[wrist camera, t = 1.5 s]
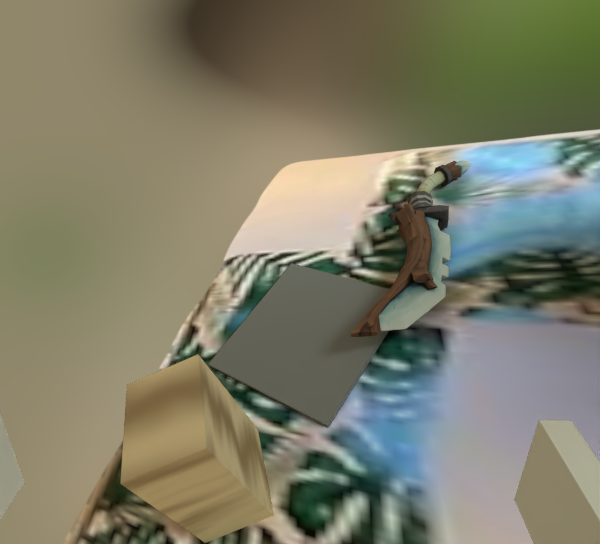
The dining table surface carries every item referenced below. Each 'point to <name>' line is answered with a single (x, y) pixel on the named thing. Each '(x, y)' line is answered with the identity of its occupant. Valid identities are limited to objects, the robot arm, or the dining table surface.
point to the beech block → (193, 451)
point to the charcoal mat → (304, 342)
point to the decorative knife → (416, 259)
